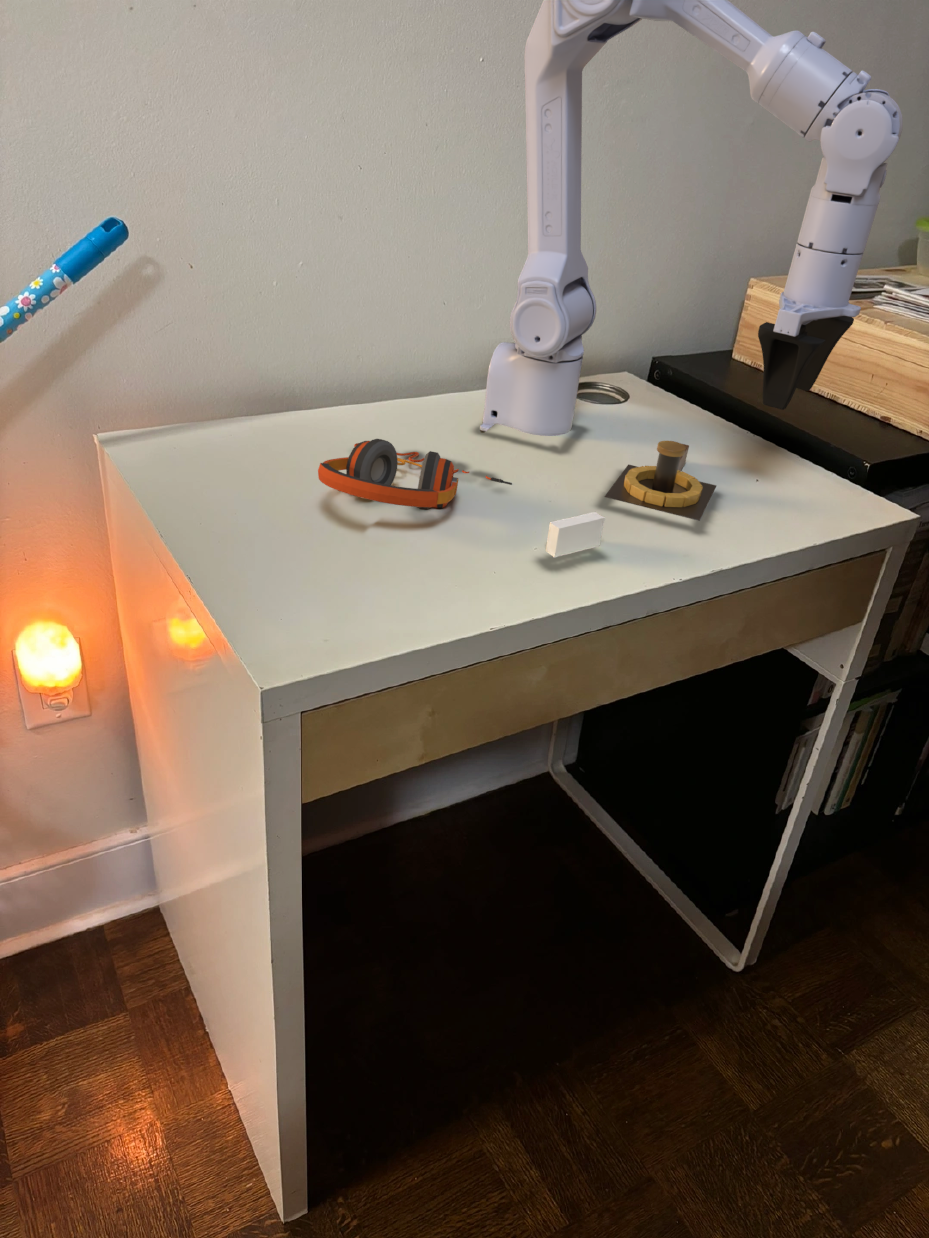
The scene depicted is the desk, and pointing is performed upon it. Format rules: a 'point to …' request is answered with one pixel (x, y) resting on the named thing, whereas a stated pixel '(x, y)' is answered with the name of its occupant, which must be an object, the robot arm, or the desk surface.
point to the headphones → (391, 476)
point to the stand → (664, 483)
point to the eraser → (574, 534)
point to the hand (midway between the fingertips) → (787, 397)
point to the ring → (659, 497)
